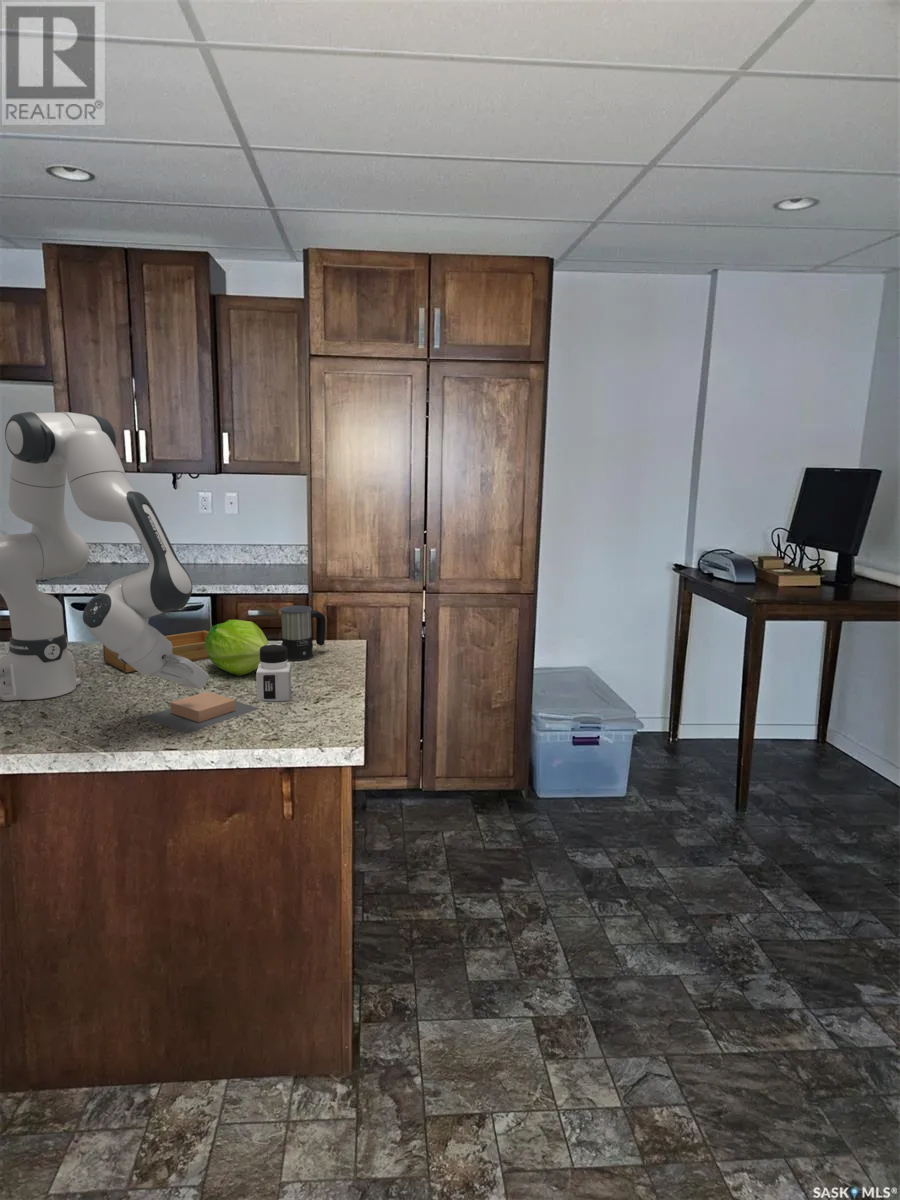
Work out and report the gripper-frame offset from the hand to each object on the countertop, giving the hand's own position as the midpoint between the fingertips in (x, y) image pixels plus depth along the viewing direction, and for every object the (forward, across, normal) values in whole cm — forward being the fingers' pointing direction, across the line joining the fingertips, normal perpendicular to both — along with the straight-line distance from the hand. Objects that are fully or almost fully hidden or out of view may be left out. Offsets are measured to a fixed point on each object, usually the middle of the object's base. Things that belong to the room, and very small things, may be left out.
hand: (191, 686), depth 163 cm
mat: (+7, 0, +3) cm, 8 cm away
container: (+21, -3, -10) cm, 23 cm away
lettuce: (+27, +21, -16) cm, 38 cm away
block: (+2, 0, +5) cm, 6 cm away
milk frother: (+43, +23, -33) cm, 59 cm away
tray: (+25, +47, -13) cm, 55 cm away
